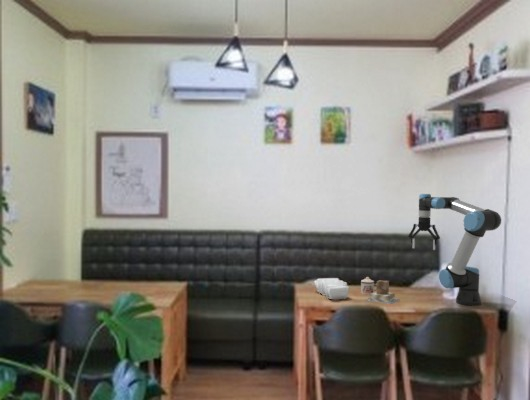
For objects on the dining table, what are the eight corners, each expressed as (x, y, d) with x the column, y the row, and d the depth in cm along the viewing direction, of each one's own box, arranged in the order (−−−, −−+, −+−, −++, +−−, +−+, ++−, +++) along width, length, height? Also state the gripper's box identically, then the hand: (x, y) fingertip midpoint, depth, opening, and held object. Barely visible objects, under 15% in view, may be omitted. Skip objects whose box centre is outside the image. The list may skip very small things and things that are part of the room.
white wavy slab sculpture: (352, 301, 347) (352, 284, 347) (326, 302, 345) (327, 285, 344) (335, 291, 382) (335, 275, 382) (312, 291, 379) (312, 276, 379)
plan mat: (399, 300, 353) (400, 299, 353) (392, 304, 340) (392, 303, 340) (373, 296, 363) (373, 296, 362) (364, 301, 349) (364, 300, 349)
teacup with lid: (361, 295, 367) (361, 278, 366) (359, 292, 376) (359, 275, 376) (379, 295, 366) (379, 278, 366) (377, 293, 375) (377, 276, 375)
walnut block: (388, 293, 352) (388, 280, 352) (385, 294, 347) (385, 282, 347) (379, 292, 355) (379, 280, 355) (376, 293, 350) (376, 281, 350)
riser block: (394, 299, 353) (394, 293, 353) (388, 302, 343) (388, 296, 343) (376, 297, 359) (376, 291, 359) (370, 300, 349) (370, 294, 349)
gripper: (445, 217, 362) (444, 249, 363) (407, 216, 375) (406, 247, 376) (442, 218, 356) (441, 250, 356) (404, 216, 369) (403, 248, 369)
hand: (423, 248), depth 366 cm, fingers open, 13 cm apart
